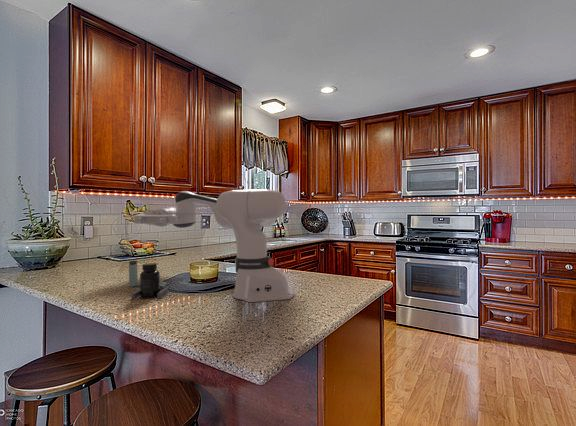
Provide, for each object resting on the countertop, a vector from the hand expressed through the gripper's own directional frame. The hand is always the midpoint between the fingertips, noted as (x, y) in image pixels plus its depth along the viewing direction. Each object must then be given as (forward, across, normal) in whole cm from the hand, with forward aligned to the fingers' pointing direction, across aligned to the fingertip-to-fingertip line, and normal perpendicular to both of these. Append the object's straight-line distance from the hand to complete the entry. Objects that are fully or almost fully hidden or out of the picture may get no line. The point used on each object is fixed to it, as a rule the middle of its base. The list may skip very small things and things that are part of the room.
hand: (148, 220), depth 146 cm
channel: (+28, -13, -25) cm, 39 cm away
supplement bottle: (+28, -13, -25) cm, 40 cm away
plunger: (+18, -7, -25) cm, 31 cm away
